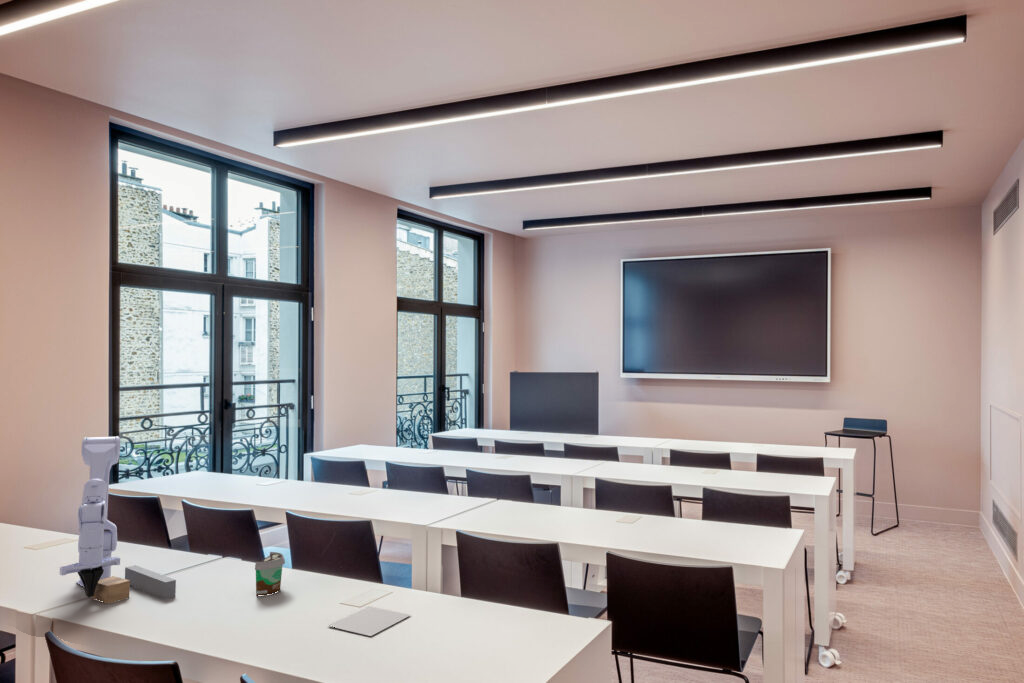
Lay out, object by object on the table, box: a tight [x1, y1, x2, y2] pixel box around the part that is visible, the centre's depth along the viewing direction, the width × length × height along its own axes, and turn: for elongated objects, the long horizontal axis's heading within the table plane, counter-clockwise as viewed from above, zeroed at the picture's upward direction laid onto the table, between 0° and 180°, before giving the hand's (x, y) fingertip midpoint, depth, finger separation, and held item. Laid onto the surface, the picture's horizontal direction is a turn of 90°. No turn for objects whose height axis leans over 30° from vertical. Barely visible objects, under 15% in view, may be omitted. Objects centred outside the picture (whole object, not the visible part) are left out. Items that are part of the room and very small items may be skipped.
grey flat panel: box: [329, 605, 411, 637], centre depth 187 cm, size 23×25×1 cm
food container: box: [254, 551, 286, 596], centre depth 205 cm, size 12×6×10 cm, turn 179°
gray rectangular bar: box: [124, 564, 177, 600], centre depth 205 cm, size 24×3×5 cm, turn 54°
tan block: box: [91, 575, 131, 604], centre depth 197 cm, size 8×6×5 cm
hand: (89, 595), depth 193 cm, fingers closed
